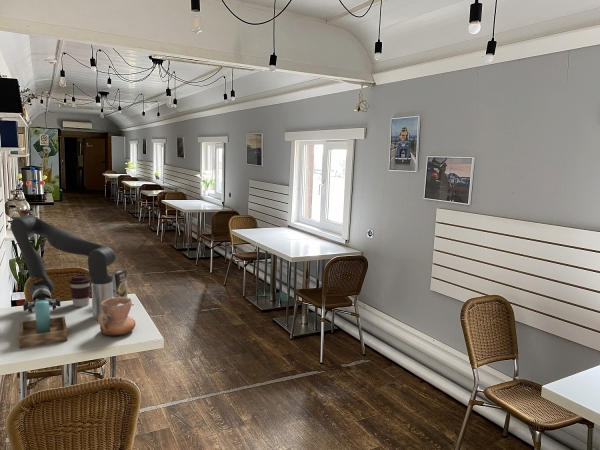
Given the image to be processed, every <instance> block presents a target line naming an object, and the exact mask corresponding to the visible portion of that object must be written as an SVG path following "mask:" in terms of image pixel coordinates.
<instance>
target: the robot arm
mask: <svg viewBox="0 0 600 450" xmlns="http://www.w3.org/2000/svg"><path fill="white" fill-rule="evenodd" d="M10 229H11V232H12V234H13V237H14V239H15V241H16V244H17V245H18V247H19V249H20V252H21V253H22V256H23V258H24V260H25V264H26V268H27V272H28V276H29V277H30V278H33V279H35V278H40V279H42V280H39V281H35V282H32V283H30V284H29V286H28V292H29V293H30V295H31V296H32V301H28V300H25V301H23V304H22V307H23V311H24V312H25V311H27V312H28V313H33V310H34V311H35V302H36V301H40V300H48V301H49V309H51V308H52V310H53V311H55V309H57V307H61V299H60V297H58V296H57V297H56V298H54V299H53V298H52V293H53V292H54V290H55V285H54V283H53V282H52V280H51V278H50V277H49V276H48V273H47V272H46V267H45V264H44V262H43V258H42V256H41V255H40V253H39V252H38V251H37V250H36V249H35V248H34V247H33V246H32V244H31V242H30V239H29V235H32V234H36V235H38V236H40V237H43V238H45V239H46V241H47V242H48V243H49V245H51V247H53V248H54V249H57V250H59V251H61V252H64V253H68V254H71V255H72V254H75V255H80V256H86V257H87V267H88V277H90V278H91V282H90V283H91V284H90V287H91V305H92V306H91V307H92V318H93V320H97V321H98V316H99V315H100V314H101V313H103V312H104V311H103V309H102V305H101V303H102V302H103V301H105V300H107V299H110V298H114V297H113V277H112V275H111V274H108V268H107V267H108V266H111V265H113V263H114V262H115V261H116V258H117V255H116V252H115V251H114V250H113V249H112V248H111V247H109V246H107V245H103V244H99V243H96V242H93V241H90V240H88V239H86V238H83V237H81V236H78V235H76V234H74V233H72V232H70V231H68V230H67V231H66V230H64V229H61V228H59V227H57V226H55V225H52V224H50V223H47V222H46V221H45V220H42V219H41V218H38V217H37V216H35V215H31V214H25V215H22V216H18V217H15V218H13V219H12V220H11V222H10ZM106 319H107V317H106V316H104V317H103V321H105V320H106Z"/></svg>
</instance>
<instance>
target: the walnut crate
mask: <svg viewBox="0 0 600 450" xmlns="http://www.w3.org/2000/svg"><path fill="white" fill-rule="evenodd" d="M67 328H68V327H67V324H66V316H57V317H55V316H54V317H50V332H47V333H41V334H36V319H34V320H26V321H20V324H19V331H18V332H19V333H18V343H19V349H22V348H30V347H36V346H43V345H48V344H49V345H51V344H56V343H63V342H67V341H68V330H67Z"/></svg>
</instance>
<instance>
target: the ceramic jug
mask: <svg viewBox="0 0 600 450" xmlns="http://www.w3.org/2000/svg"><path fill="white" fill-rule="evenodd" d="M101 305H102V309H103V311H104V312H103V313H101V314H100V315H99V316H98V320H97V321H98V324H99V326H100V327H99V329H100V332H102V334H104V335H108V336H123V335H126V334H128V333H130V332H132V331H133V330H134V329H135V327H136V320H135V319H134V318H133V317H131V316H129V313H130V311H131V307H132V306H134V305H135V303H134V302H133V300H132V299H131V298H130V297H128V296H127V297H115V298H110V299H107V300H105V301H103V302H102V303H101ZM104 316H106V317H107V319H105V320H103V317H104Z"/></svg>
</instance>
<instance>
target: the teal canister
mask: <svg viewBox="0 0 600 450" xmlns="http://www.w3.org/2000/svg"><path fill="white" fill-rule="evenodd" d="M34 312H35V313H34V314H35V320H36V334H41V333H47V332H50V318H51V315H50V314H51V313H50V308H49V301H48V300H40V301H36V302H35V310H34Z"/></svg>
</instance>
